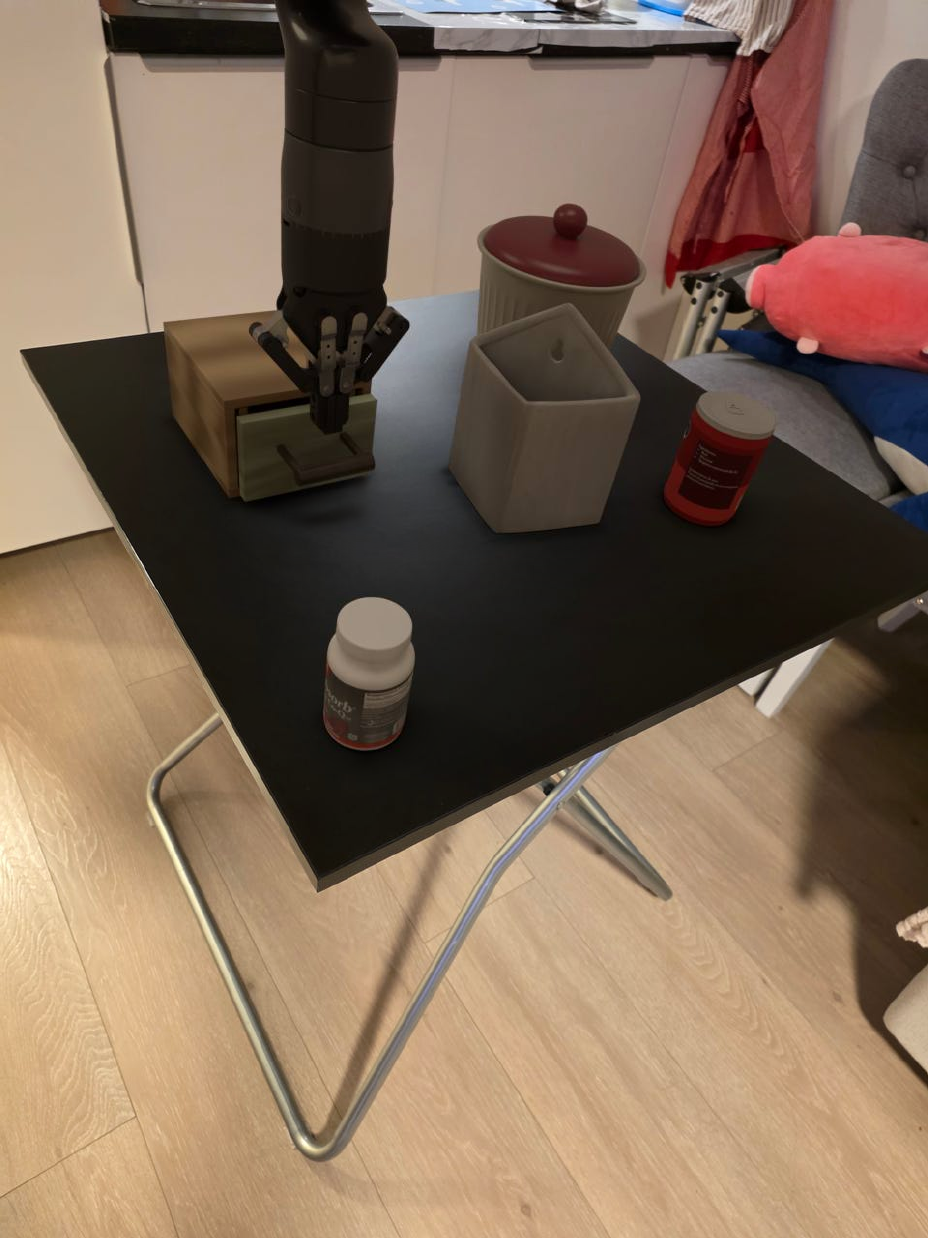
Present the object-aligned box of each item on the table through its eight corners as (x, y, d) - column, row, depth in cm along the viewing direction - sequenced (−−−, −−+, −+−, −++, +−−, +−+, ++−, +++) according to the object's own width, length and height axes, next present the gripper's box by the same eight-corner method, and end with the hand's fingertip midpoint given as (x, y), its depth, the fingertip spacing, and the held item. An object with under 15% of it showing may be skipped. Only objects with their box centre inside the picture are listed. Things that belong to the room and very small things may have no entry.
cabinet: (365, 468, 79) (372, 377, 72) (229, 498, 72) (223, 400, 65) (300, 395, 87) (301, 306, 80) (172, 416, 80) (162, 321, 74)
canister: (493, 343, 104) (527, 164, 89) (623, 391, 99) (681, 211, 85) (427, 396, 91) (454, 197, 77) (572, 454, 87) (630, 255, 73)
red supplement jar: (707, 480, 87) (748, 388, 80) (747, 525, 82) (794, 431, 75) (647, 484, 85) (682, 390, 77) (684, 531, 80) (726, 435, 72)
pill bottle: (310, 703, 57) (314, 601, 50) (383, 681, 59) (395, 581, 53) (342, 765, 54) (351, 665, 47) (417, 739, 56) (436, 640, 49)
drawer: (398, 505, 74) (407, 430, 68) (269, 537, 68) (268, 457, 62) (309, 403, 84) (310, 331, 79) (190, 424, 78) (183, 347, 73)
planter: (416, 503, 76) (445, 302, 63) (450, 464, 82) (482, 273, 68) (577, 564, 73) (642, 367, 60) (600, 520, 79) (664, 331, 65)
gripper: (393, 186, 60) (376, 394, 72) (222, 192, 54) (234, 419, 66) (446, 223, 56) (418, 437, 68) (268, 234, 50) (272, 468, 62)
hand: (328, 428), depth 67 cm, fingers closed
